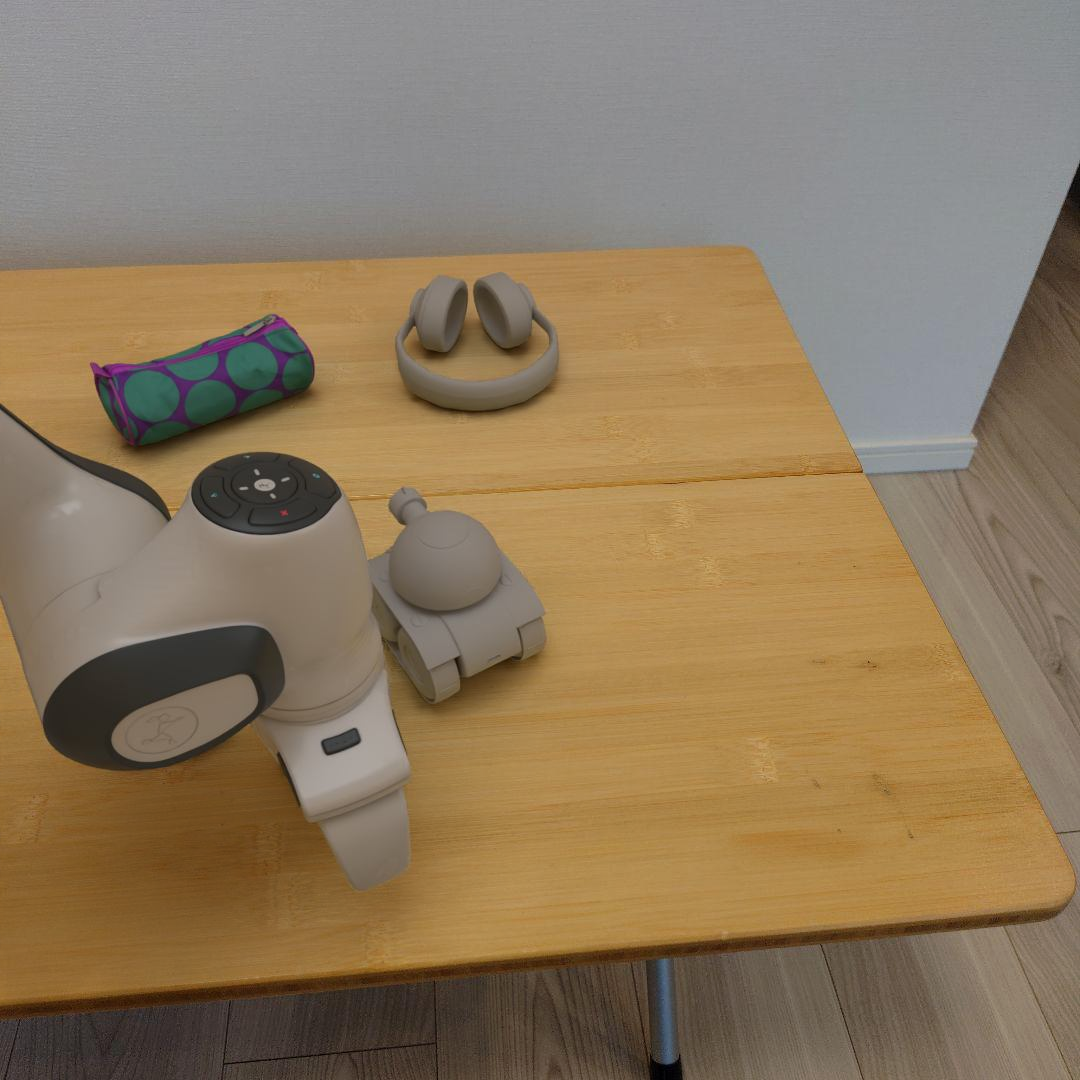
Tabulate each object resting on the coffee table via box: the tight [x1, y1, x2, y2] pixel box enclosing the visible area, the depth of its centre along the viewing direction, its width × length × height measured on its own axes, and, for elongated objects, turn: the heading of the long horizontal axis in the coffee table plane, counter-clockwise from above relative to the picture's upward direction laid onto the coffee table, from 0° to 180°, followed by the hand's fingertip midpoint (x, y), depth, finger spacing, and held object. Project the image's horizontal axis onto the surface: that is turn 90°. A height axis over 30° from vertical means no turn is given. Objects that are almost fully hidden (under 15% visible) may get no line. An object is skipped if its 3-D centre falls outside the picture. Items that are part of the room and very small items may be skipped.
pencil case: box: [89, 313, 316, 448], centre depth 99 cm, size 21×9×10 cm, turn 126°
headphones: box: [394, 271, 560, 412], centre depth 108 cm, size 18×8×20 cm
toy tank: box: [368, 485, 547, 705], centre depth 76 cm, size 15×11×13 cm
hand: (344, 797), depth 68 cm, fingers closed
